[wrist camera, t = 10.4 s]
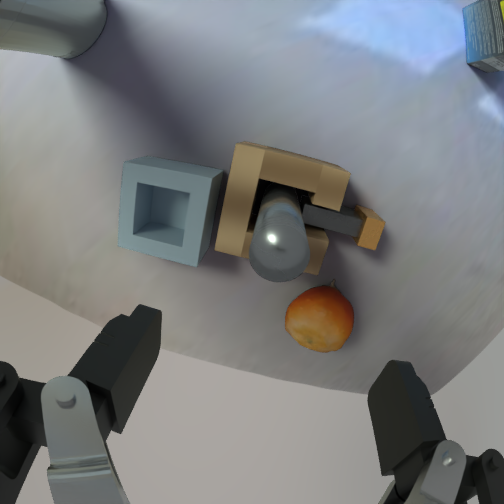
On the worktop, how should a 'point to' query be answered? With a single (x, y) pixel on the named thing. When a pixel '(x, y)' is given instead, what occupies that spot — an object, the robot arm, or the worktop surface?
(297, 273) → the peg
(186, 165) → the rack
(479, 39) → the blue retail carton
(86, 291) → the worktop surface
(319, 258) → the socket block
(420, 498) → the robot arm
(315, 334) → the fruit
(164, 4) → the worktop surface
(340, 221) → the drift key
